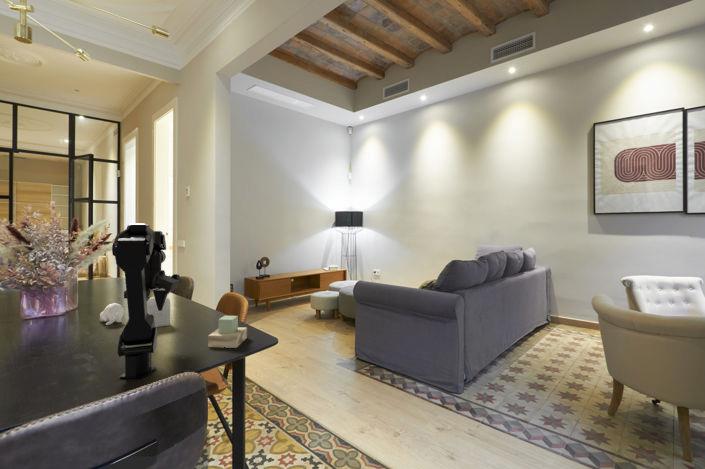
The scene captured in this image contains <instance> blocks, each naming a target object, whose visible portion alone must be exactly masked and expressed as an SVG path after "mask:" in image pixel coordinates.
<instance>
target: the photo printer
mask: <svg viewBox="0 0 705 469" xmlns="http://www.w3.org/2000/svg"><path fill="white" fill-rule="evenodd" d="M147 313H148V314H149V315H153V316H154V322H155V327H157V328H159V327H160V328H161V327H166V326H170V325H171V299H170V297H168V296H167V297H166V300H165V303H164V306H163V309H162V310H161V311H159V310H158V308H157V304H156V301H155V297H154V296H150V299H149V300H148V301H147Z"/></svg>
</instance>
